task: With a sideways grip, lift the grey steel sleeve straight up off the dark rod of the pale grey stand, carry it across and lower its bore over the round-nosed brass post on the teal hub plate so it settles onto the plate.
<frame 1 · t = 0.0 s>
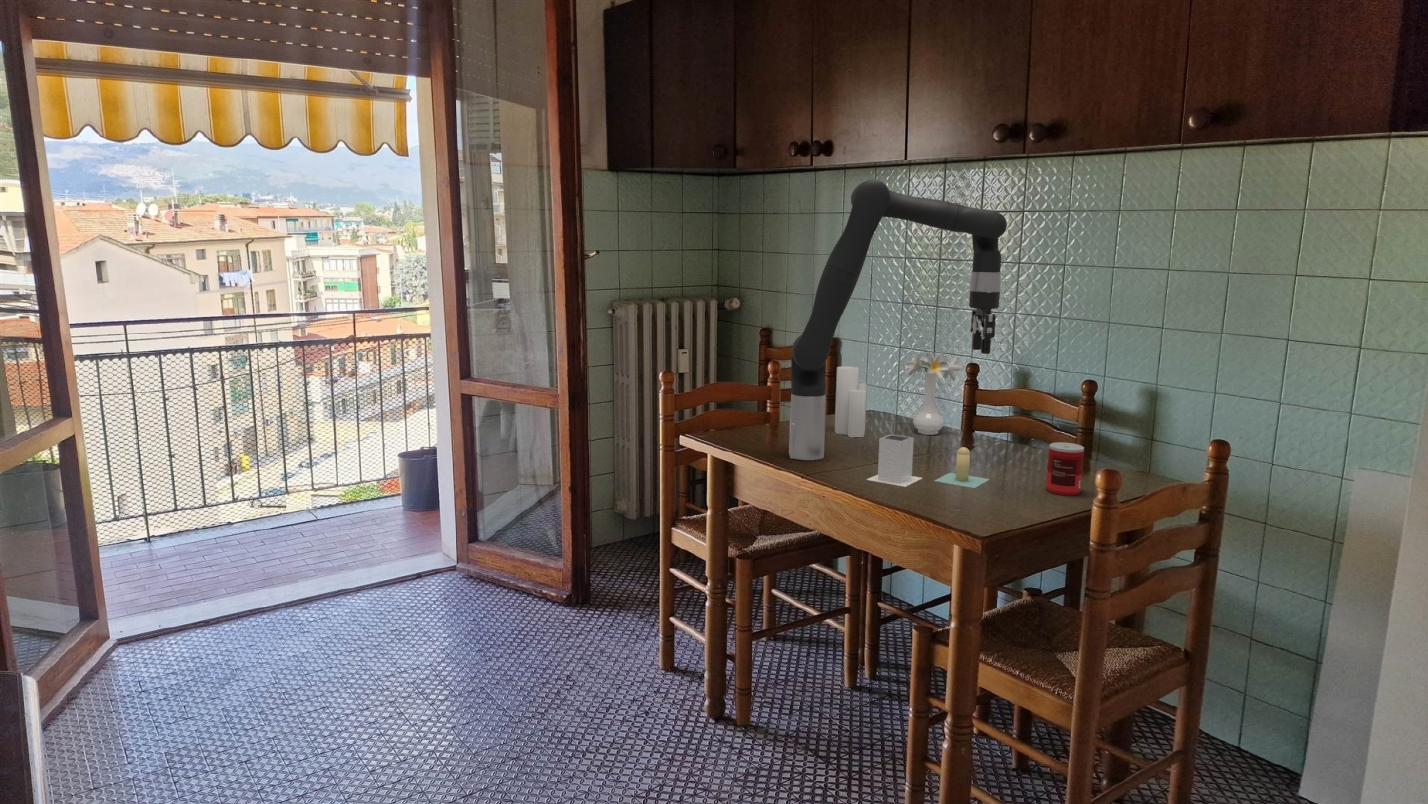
hand: (980, 351, 234), 29 cm above the table, tool pointing down, fingers open, 8 cm apart
white joined cylinders: (851, 434, 270), on the table
canned food: (1062, 492, 209), on the table
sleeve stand: (894, 484, 213), on the table
flower vase: (928, 433, 274), on the table
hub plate: (961, 486, 213), on the table
steel sleeve: (894, 478, 213), point 1 cm above the table, touching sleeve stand
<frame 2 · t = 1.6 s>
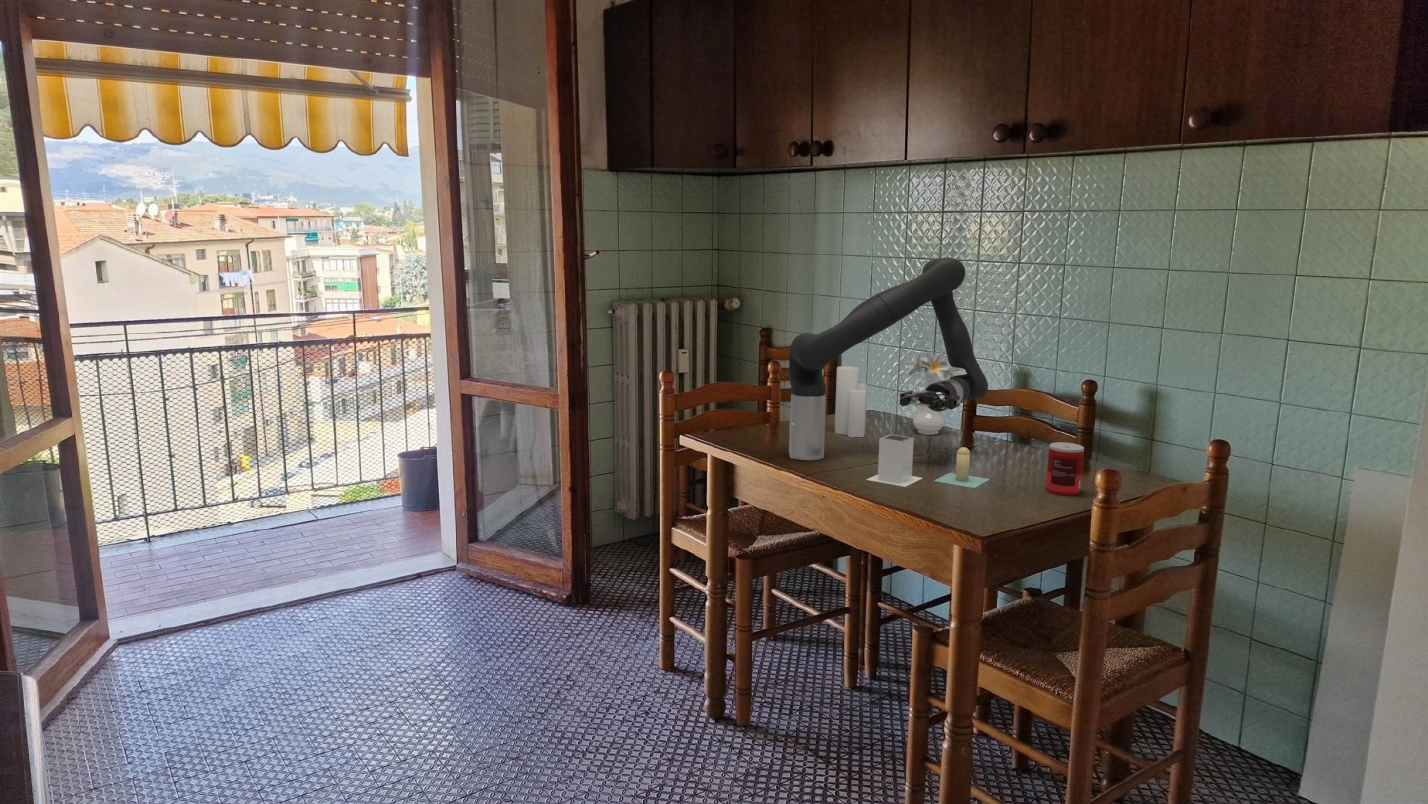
hand: (917, 404, 218), 18 cm above the table, tool horizontal, fingers open, 8 cm apart
nothing on the table moved.
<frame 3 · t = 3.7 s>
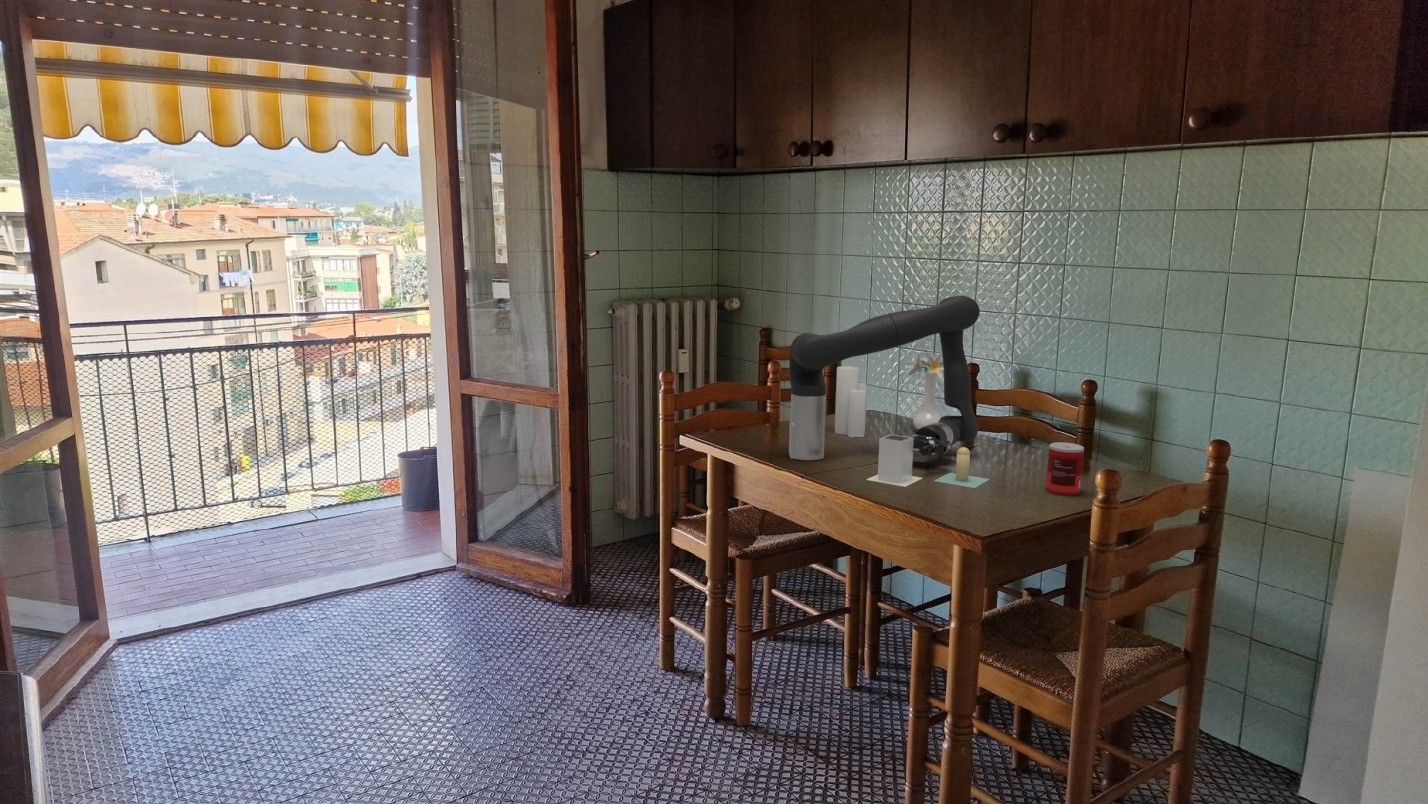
hand: (907, 449, 217), 8 cm above the table, tool horizontal, fingers open, 8 cm apart
nothing on the table moved.
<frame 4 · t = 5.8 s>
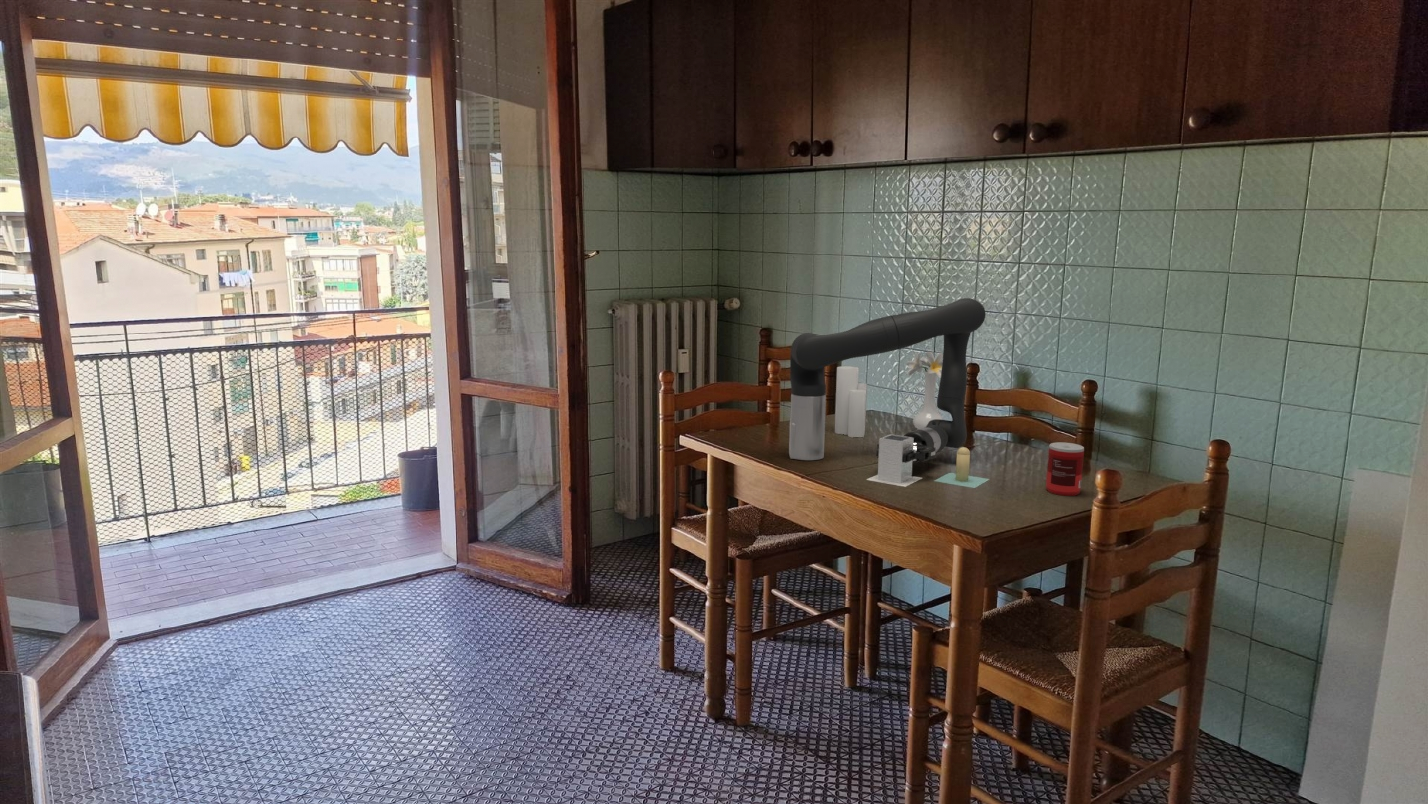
hand: (891, 456, 210), 8 cm above the table, tool horizontal, fingers closed on steel sleeve, 6 cm apart
steel sleeve: (894, 478, 213), point 1 cm above the table, touching gripper, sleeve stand
everything else where it was.
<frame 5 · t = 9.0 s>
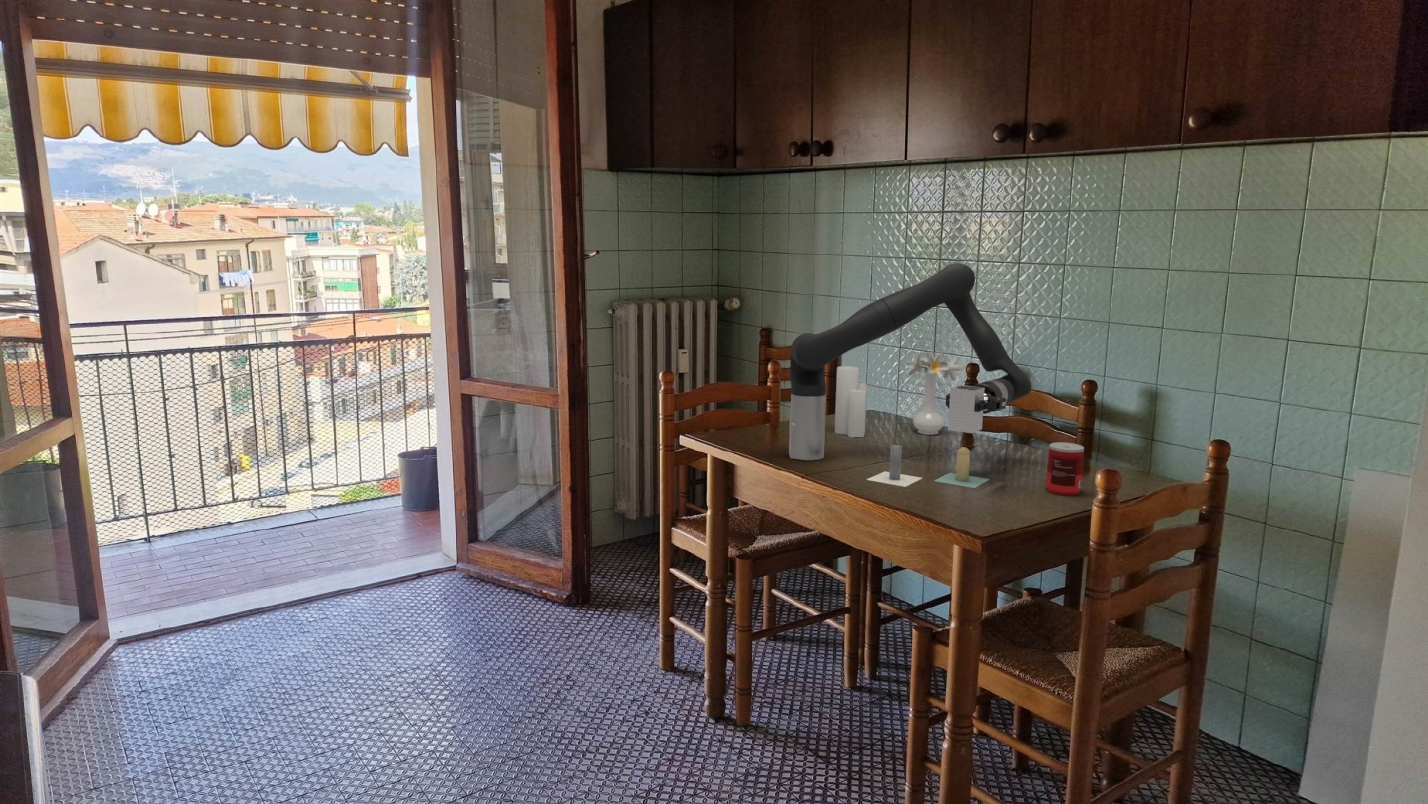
hand: (962, 406, 207), 20 cm above the table, tool horizontal, fingers closed on steel sleeve, 6 cm apart
steel sleeve: (965, 429, 210), point 14 cm above the table, touching gripper
everything else where it was.
when the fingers open (8 cm above the table, at t = 12.2 s): steel sleeve stays where it is, resting on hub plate.
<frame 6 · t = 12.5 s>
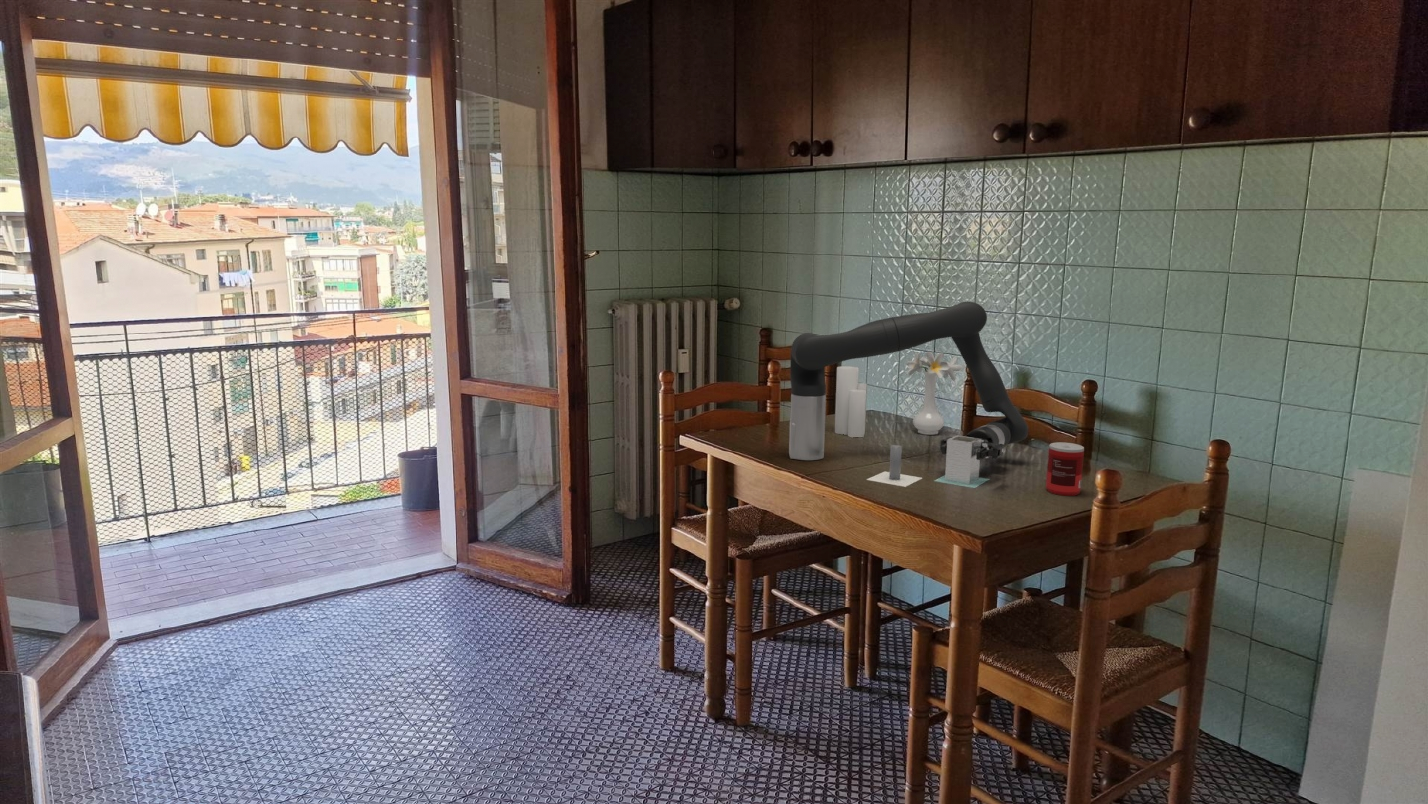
hand: (960, 452, 210), 8 cm above the table, tool horizontal, fingers open, 8 cm apart
steel sleeve: (961, 479, 212), point 1 cm above the table, touching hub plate
everything else where it was.
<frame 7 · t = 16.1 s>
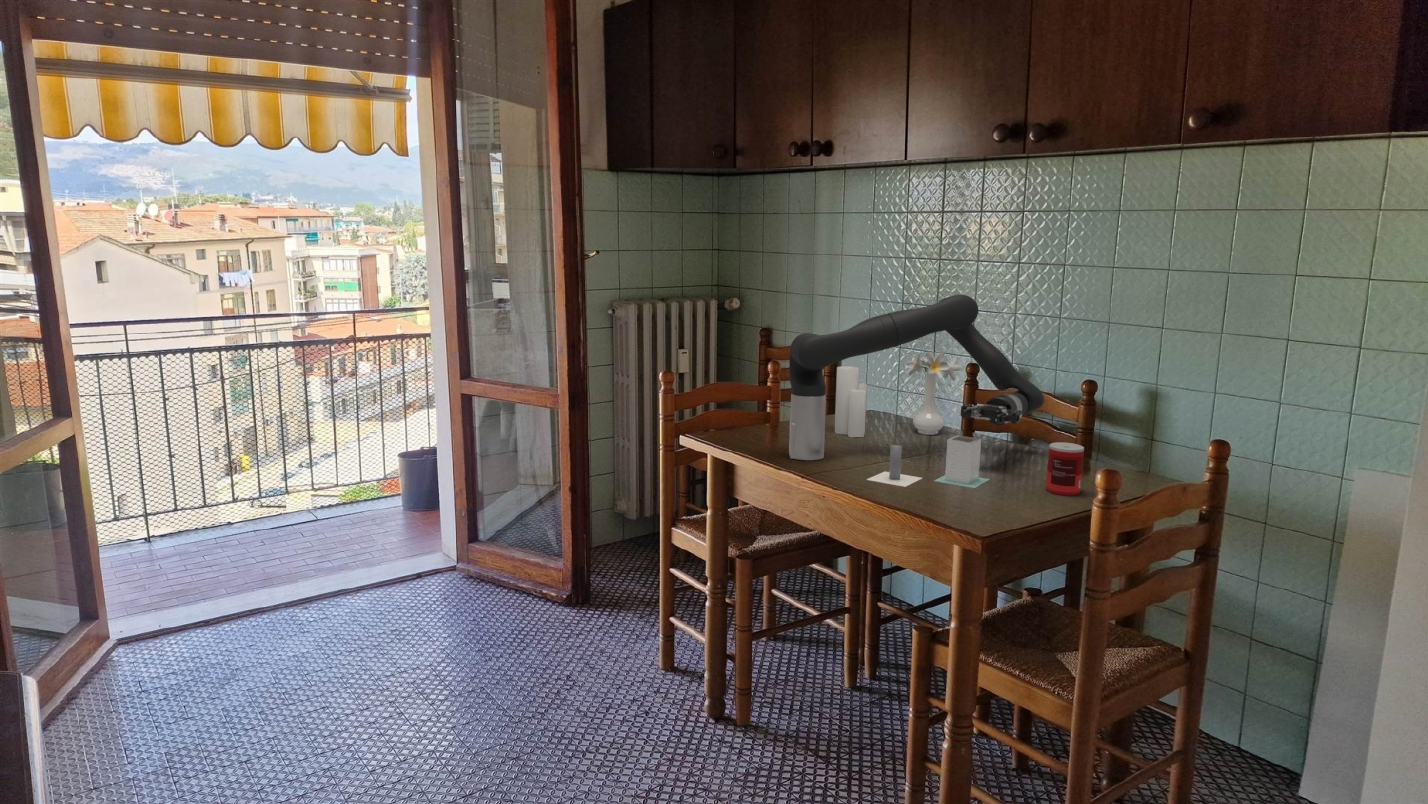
hand: (981, 417, 219), 15 cm above the table, tool horizontal, fingers open, 8 cm apart
nothing on the table moved.
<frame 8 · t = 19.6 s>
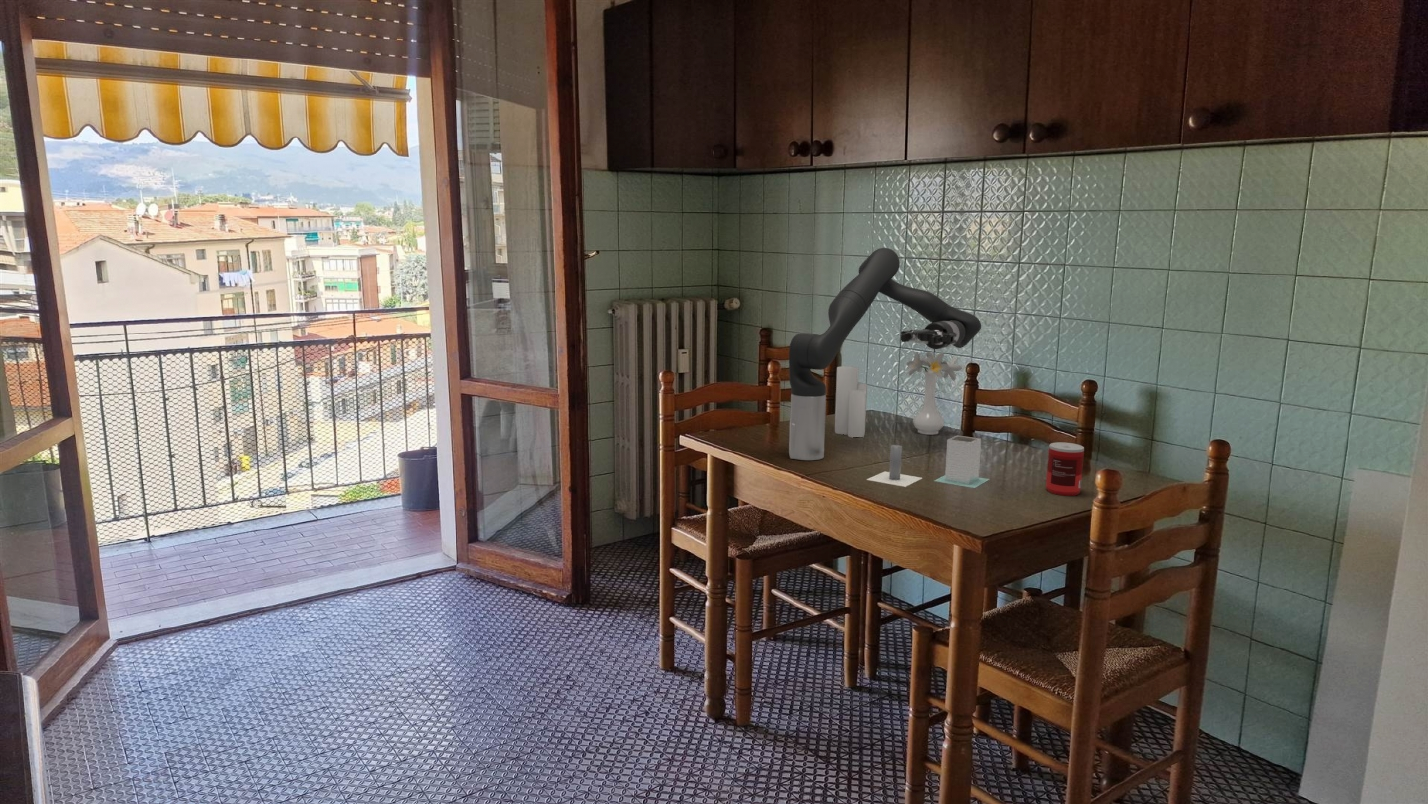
hand: (917, 339, 237), 32 cm above the table, tool horizontal, fingers open, 8 cm apart
nothing on the table moved.
at the end: steel sleeve 0.0 cm off-centre on the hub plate, point 1.5 cm above the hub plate's base; steel sleeve tilted 0°; the gripper is holding nothing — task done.
